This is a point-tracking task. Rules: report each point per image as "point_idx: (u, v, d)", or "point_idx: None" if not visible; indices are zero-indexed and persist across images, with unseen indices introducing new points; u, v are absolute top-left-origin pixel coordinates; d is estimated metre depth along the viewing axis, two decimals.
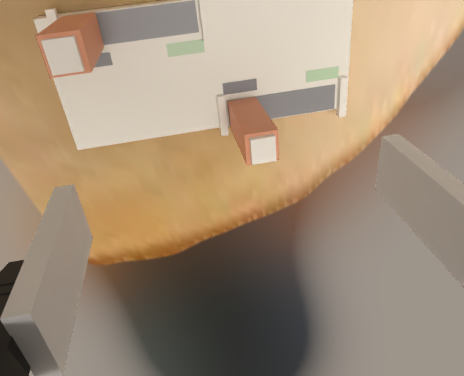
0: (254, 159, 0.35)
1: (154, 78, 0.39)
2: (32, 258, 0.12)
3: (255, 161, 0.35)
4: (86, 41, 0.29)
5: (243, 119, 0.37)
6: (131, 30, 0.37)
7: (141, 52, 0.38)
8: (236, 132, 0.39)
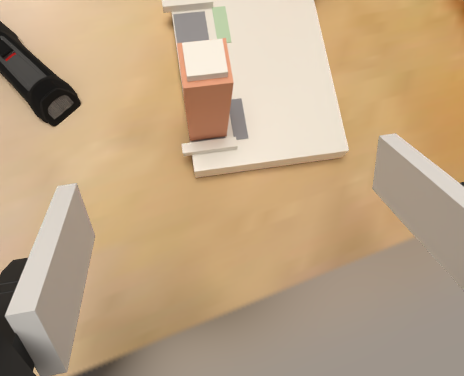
0: None
1: (255, 57, 0.34)
2: (36, 256, 0.12)
3: None
4: None
5: None
6: None
7: None
8: None
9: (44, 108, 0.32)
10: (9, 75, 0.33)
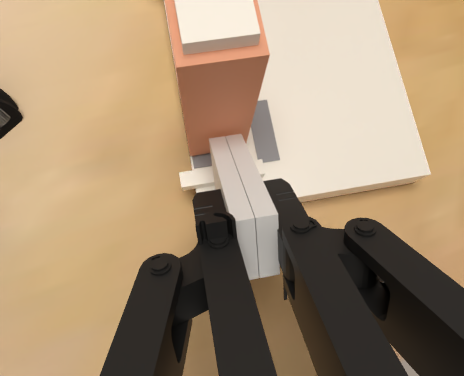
0: None
1: (285, 39, 0.23)
2: (228, 184, 0.15)
3: None
4: None
5: None
6: None
7: None
8: None
9: None
10: None
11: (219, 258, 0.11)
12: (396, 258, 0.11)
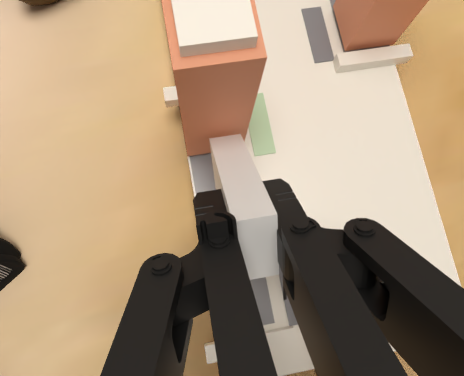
0: None
1: (315, 177, 0.22)
2: (228, 184, 0.15)
3: None
4: None
5: None
6: None
7: None
8: None
9: None
10: None
11: (220, 258, 0.11)
12: (395, 258, 0.11)
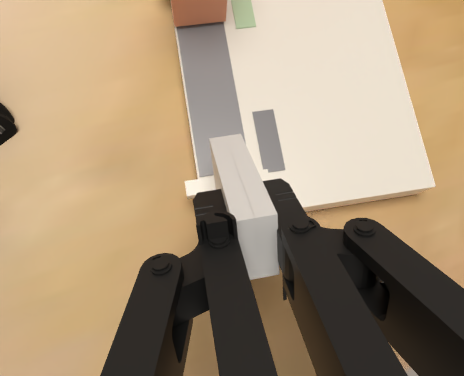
0: None
1: (292, 49, 0.23)
2: (228, 184, 0.15)
3: None
4: None
5: None
6: (217, 76, 0.23)
7: (250, 65, 0.23)
8: None
9: None
10: None
11: (220, 258, 0.11)
12: (395, 258, 0.11)
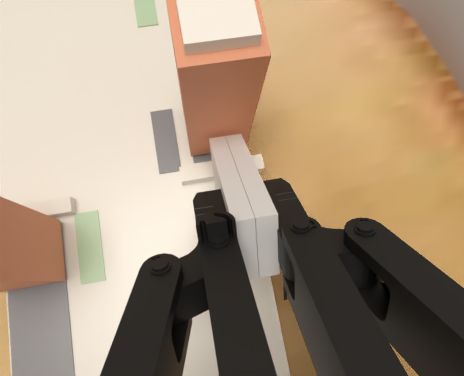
0: (243, 30, 0.12)
1: None
2: (228, 184, 0.15)
3: (251, 26, 0.12)
4: None
5: None
6: (53, 353, 0.19)
7: (95, 334, 0.19)
8: (226, 119, 0.17)
9: None
10: None
11: (219, 258, 0.11)
12: (396, 258, 0.11)
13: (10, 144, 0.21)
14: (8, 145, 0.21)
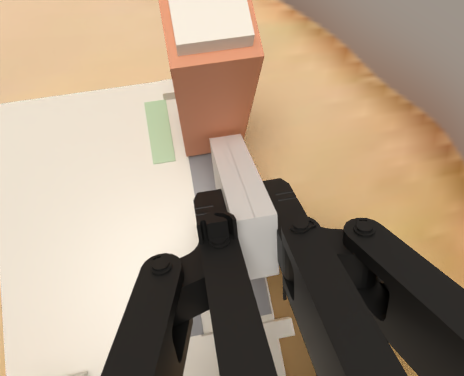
0: (235, 31, 0.12)
1: None
2: (228, 184, 0.15)
3: (243, 27, 0.12)
4: None
5: None
6: None
7: None
8: (221, 119, 0.17)
9: None
10: None
11: (220, 258, 0.11)
12: (395, 258, 0.11)
13: (15, 307, 0.19)
14: (13, 308, 0.19)
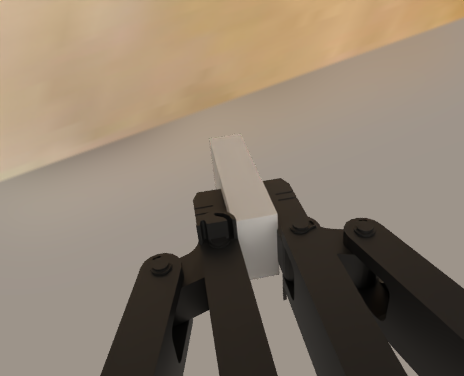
0: None
1: None
2: (228, 184, 0.15)
3: None
4: None
5: None
6: None
7: None
8: None
9: None
10: None
11: (220, 258, 0.11)
12: (395, 258, 0.11)
13: None
14: None
